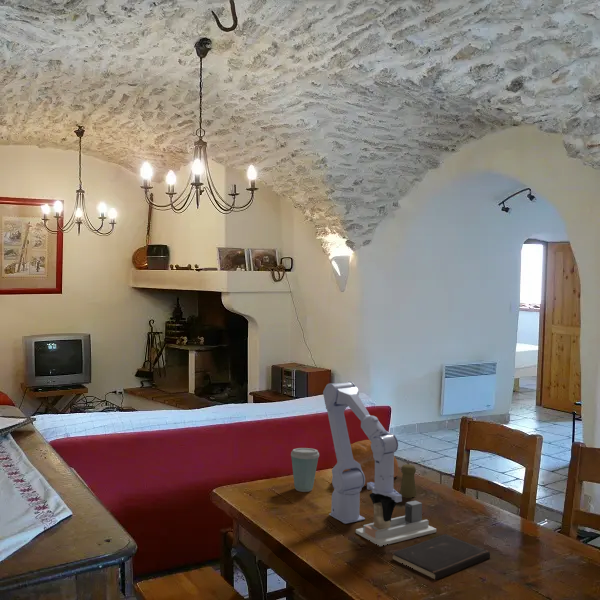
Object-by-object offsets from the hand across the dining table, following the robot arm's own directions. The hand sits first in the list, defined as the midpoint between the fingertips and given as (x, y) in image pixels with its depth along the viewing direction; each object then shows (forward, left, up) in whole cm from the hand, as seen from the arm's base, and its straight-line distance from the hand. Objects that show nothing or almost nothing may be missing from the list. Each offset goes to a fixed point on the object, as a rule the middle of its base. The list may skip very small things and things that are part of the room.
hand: (383, 518), depth 200 cm
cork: (-25, +31, -5) cm, 40 cm away
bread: (-47, +29, -6) cm, 56 cm away
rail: (0, +5, -5) cm, 7 cm away
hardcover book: (+21, +4, -6) cm, 22 cm away
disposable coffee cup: (-49, +2, -5) cm, 49 cm away
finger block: (0, -1, -2) cm, 2 cm away
